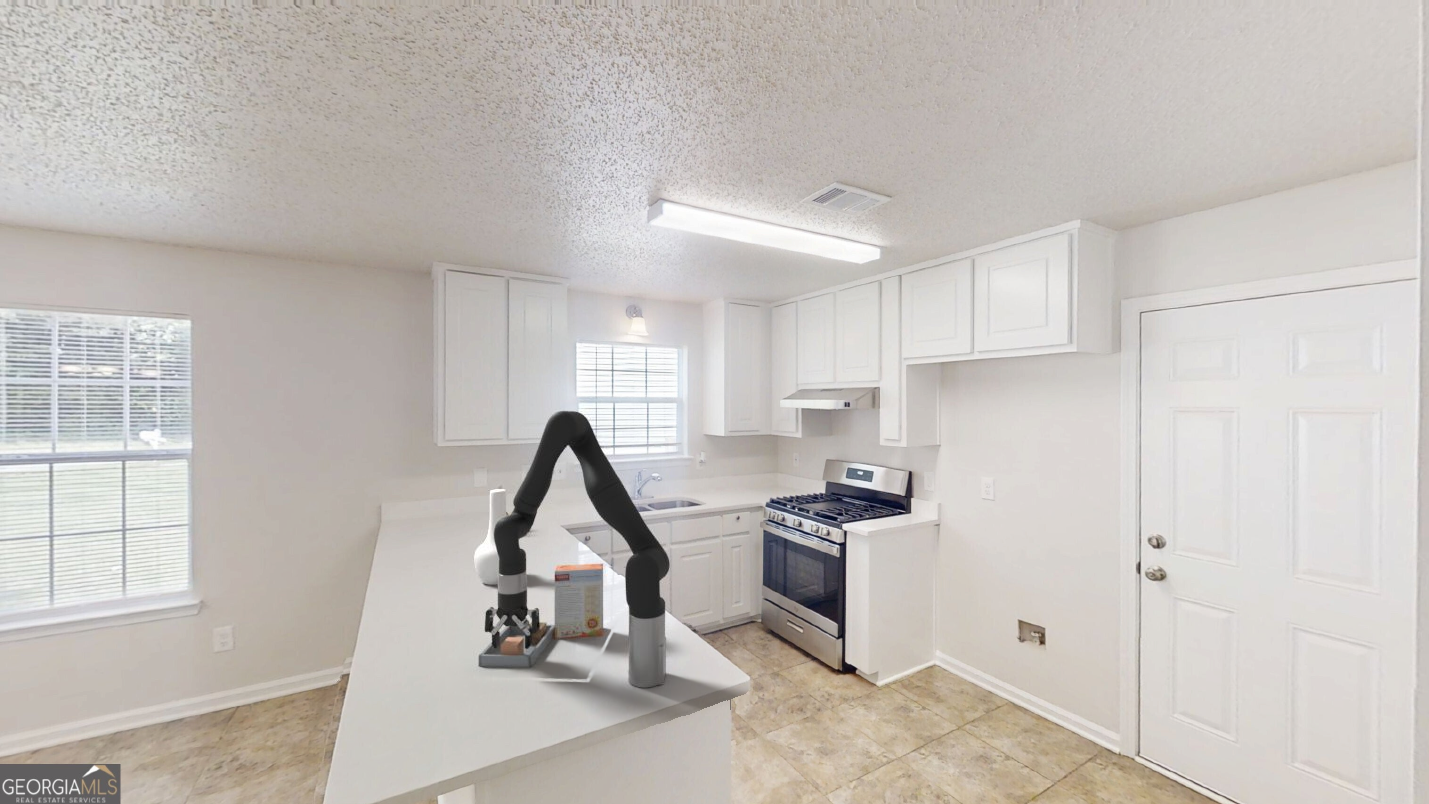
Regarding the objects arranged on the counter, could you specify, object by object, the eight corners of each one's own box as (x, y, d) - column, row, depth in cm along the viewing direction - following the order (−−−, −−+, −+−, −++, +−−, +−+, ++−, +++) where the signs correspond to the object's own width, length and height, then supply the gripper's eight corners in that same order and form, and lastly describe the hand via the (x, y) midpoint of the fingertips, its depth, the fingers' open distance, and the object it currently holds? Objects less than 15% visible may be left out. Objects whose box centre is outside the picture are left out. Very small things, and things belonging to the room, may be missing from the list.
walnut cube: (546, 637, 161) (546, 622, 161) (541, 644, 156) (541, 629, 156) (531, 637, 161) (531, 622, 161) (525, 644, 156) (525, 628, 156)
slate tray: (555, 636, 163) (555, 624, 163) (531, 670, 143) (531, 656, 143) (509, 635, 164) (509, 623, 164) (478, 668, 144) (478, 655, 144)
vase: (525, 582, 210) (525, 491, 210) (479, 590, 201) (479, 495, 200) (514, 570, 224) (514, 485, 224) (470, 577, 215) (470, 489, 214)
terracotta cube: (523, 653, 151) (523, 637, 151) (517, 661, 146) (517, 644, 146) (507, 653, 151) (507, 637, 151) (500, 661, 146) (500, 644, 146)
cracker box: (603, 629, 168) (603, 562, 168) (602, 638, 162) (603, 568, 162) (556, 632, 166) (556, 564, 166) (553, 641, 160) (554, 570, 160)
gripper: (480, 592, 145) (480, 653, 145) (533, 593, 144) (533, 654, 145) (492, 582, 152) (492, 640, 152) (543, 583, 152) (542, 641, 152)
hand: (512, 647), depth 149 cm, fingers open, 8 cm apart
